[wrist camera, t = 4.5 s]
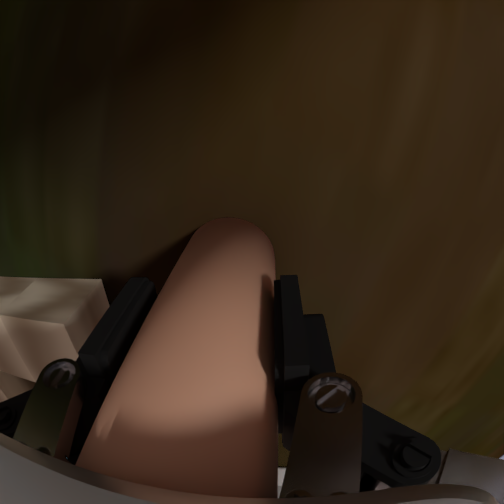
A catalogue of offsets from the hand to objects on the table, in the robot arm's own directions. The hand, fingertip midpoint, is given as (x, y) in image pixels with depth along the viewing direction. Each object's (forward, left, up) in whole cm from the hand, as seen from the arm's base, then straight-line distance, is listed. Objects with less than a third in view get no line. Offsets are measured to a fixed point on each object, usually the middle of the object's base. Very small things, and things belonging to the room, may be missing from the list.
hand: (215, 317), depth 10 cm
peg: (0, 0, -4) cm, 4 cm away
